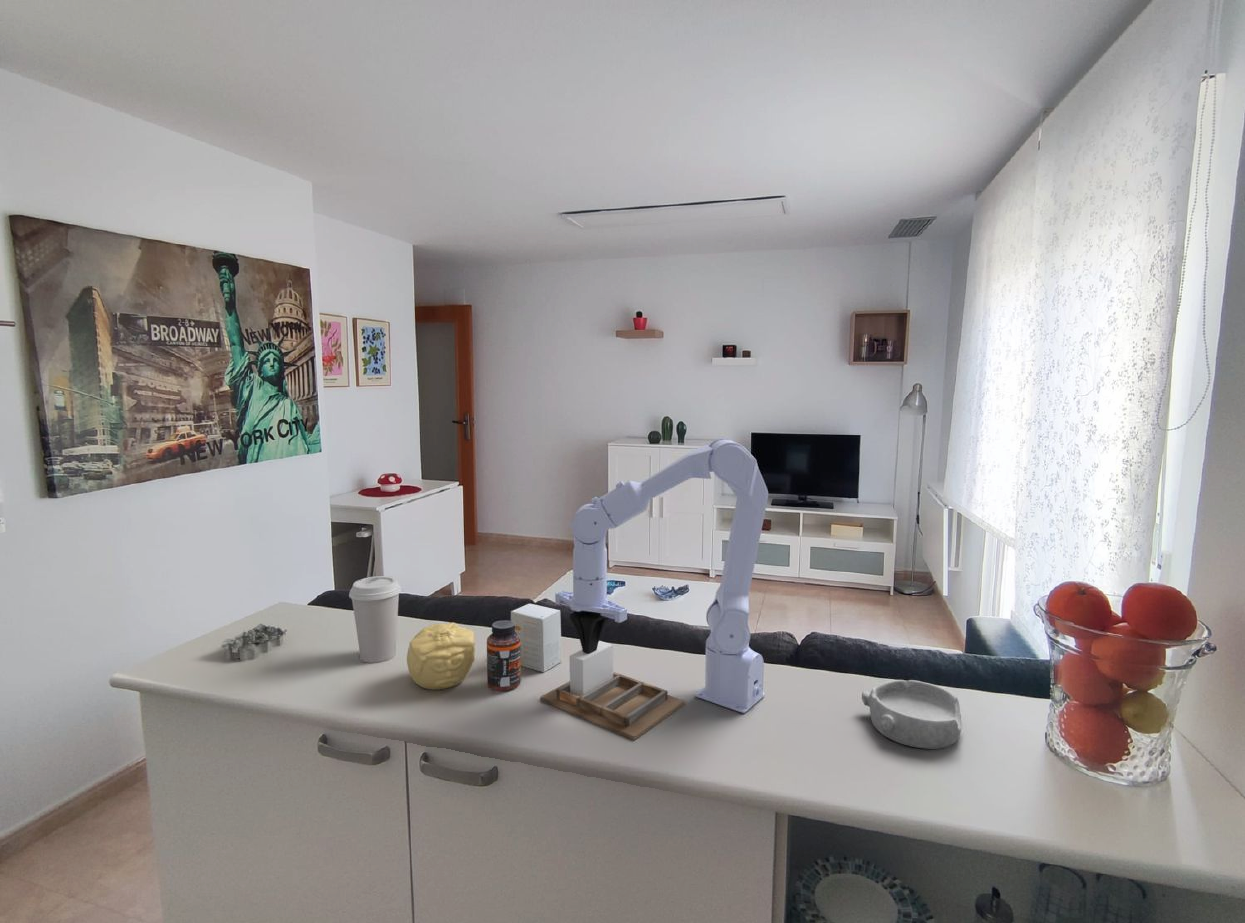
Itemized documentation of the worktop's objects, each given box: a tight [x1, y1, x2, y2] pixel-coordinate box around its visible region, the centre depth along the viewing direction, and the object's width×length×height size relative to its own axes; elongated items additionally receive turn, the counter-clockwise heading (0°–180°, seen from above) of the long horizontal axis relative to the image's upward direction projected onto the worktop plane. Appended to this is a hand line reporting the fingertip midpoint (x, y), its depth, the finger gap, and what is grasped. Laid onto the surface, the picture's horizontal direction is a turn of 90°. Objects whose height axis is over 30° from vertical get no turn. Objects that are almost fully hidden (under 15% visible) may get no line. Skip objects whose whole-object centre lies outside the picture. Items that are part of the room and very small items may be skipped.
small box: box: [510, 603, 563, 673], centre depth 121 cm, size 8×6×10 cm
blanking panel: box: [569, 640, 614, 697], centre depth 109 cm, size 3×8×7 cm, turn 143°
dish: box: [861, 679, 963, 750], centre depth 99 cm, size 14×14×5 cm
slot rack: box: [539, 671, 685, 741], centre depth 106 cm, size 20×14×2 cm
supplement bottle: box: [486, 620, 522, 692], centre depth 112 cm, size 6×6×11 cm
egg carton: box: [220, 623, 288, 662], centre depth 127 cm, size 11×8×4 cm
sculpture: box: [406, 622, 476, 691], centre depth 113 cm, size 12×12×11 cm
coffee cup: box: [348, 575, 402, 664], centre depth 124 cm, size 10×10×15 cm
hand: (589, 652), depth 109 cm, fingers closed, pressing on blanking panel
